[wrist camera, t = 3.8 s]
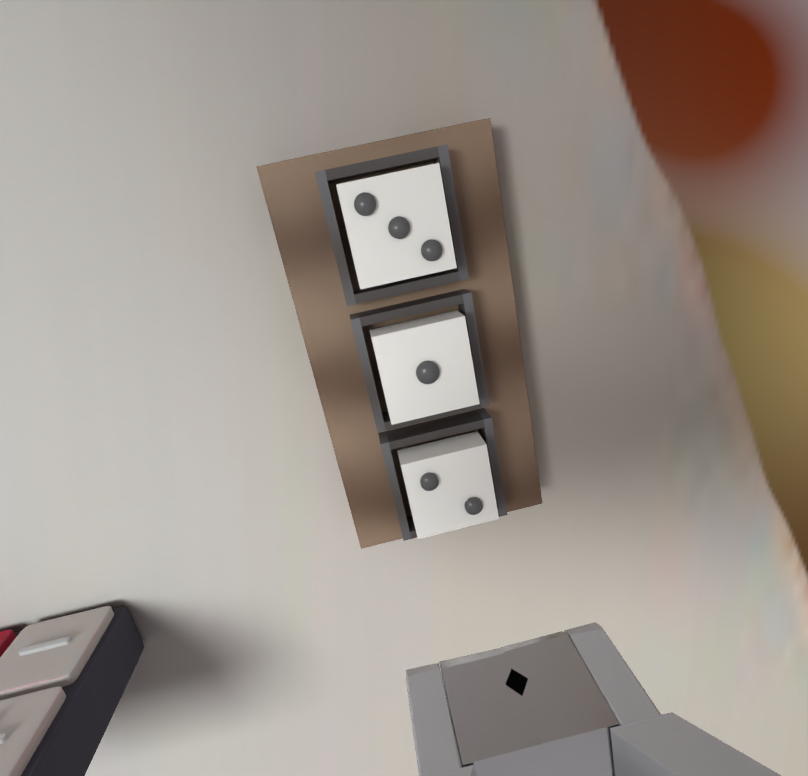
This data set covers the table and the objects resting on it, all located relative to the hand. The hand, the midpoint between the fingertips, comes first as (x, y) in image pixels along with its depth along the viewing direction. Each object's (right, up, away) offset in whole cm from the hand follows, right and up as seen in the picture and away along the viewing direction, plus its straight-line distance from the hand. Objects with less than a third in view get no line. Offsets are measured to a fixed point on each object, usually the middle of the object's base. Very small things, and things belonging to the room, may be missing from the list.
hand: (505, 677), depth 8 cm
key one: (-1, +6, +16) cm, 17 cm away
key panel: (-1, +6, +18) cm, 20 cm away
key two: (0, 0, +17) cm, 17 cm away
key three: (-2, +11, +14) cm, 18 cm away
